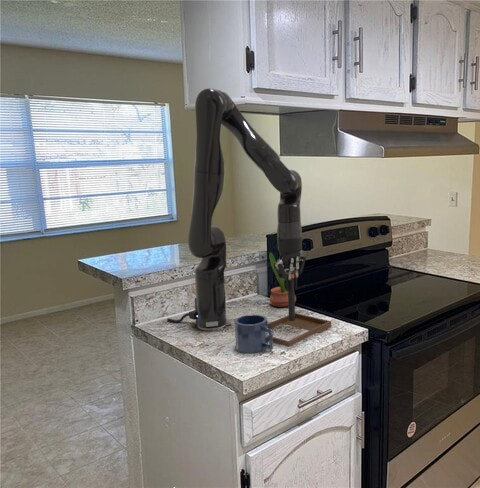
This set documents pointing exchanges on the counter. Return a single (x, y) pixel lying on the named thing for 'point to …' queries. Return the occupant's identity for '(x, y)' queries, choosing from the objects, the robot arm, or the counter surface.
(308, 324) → the tray
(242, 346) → the mug
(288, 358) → the counter surface
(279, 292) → the potted flower
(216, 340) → the counter surface
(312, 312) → the counter surface
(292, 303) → the marker
